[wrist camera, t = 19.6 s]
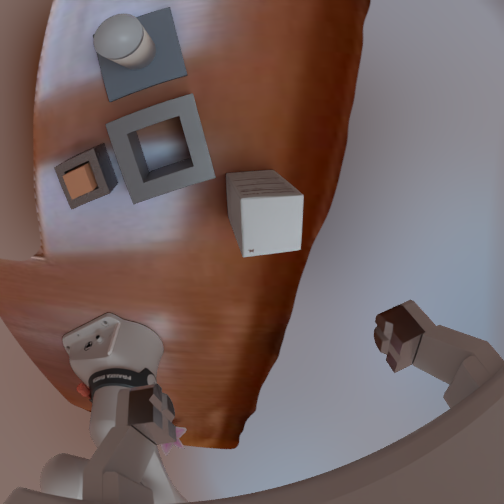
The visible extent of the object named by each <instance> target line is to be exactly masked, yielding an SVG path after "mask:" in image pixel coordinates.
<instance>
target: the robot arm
mask: <svg viewBox="0 0 504 504" xmlns="http://www.w3.org/2000/svg"><path fill="white" fill-rule="evenodd" d="M105 321H106V322H105ZM375 322H376V324H377V327H376V328H375V330H374V339H375V343H376V345H377V347H378V349H379V350H380V352H382V353H384V354H386V355H387V358H386V361H387V362H388V364H389V365H390V367H391V368H392V370H393V371H394V373H395V372H398V371H400V370H402V369H404V368H406V367H408V366H410V365H412V364H413V365H414V366H415V367H417V368H419V369H421V370H423V371H425V372H427V373H429V374H431V375H432V376H434V377H436V378H438V379H440V380H442V381H444V382H446V383H448V384H449V387H448V389H447V390H446V392H445V394H444V399H445V401H446V402H447V404H448V405H449V407H450V408H451V409H449V410H448V411H446V412H445V413H443V414H442V415H440V416H439V417H437V418H436V419H434V420H433V421H431V422H429V423H428V424H426V425H425V426H423V427H421V428H419V429H418V430H416V431H414V432H413V433H411V434H409V435H407V436H405V437H404V438H402V439H400V440H398V441H396V442H394V443H392V444H390V445H388V446H386V447H384V448H383V449H380V450H378V451H377V452H374V453H372V454H370V455H368V456H366V457H363V458H361V459H359V460H356V461H354V462H351V463H349V464H347V465H344V466H342V467H339V468H337V469H334V470H332V471H329V472H326V473H323V474H320V475H317V476H314V477H311V478H308V479H305V480H302V481H298V482H295V483H292V484H288V485H284V486H281V487H277V488H273V489H269V490H265V491H261V492H256V493H251V494H246V495H240V496H235V497H229V498H222V499H216V500H209V501H199V502H188V501H187V500H186V499H185V498H184V497H183V496H182V495H181V494H180V493H179V492H178V491H177V489H176V488H175V487H174V485H173V484H172V482H171V480H170V478H169V476H168V474H167V472H166V470H165V468H164V465H163V463H162V460H161V457H160V454H159V451H158V447H157V445H159V444H166V443H173V442H177V439H176V427H175V426H174V425H173V424H172V420H173V419H174V417H175V412H174V407H173V403H172V401H171V399H170V397H169V396H168V395H167V394H165V393H162V388H161V387H160V386H159V385H158V384H157V380H156V375H157V370H158V365H159V362H160V359H161V357H162V355H163V350H164V348H163V343H162V341H161V339H160V338H159V337H158V335H157V334H156V333H155V332H153V331H152V330H151V329H149V328H147V327H146V326H144V325H141V324H139V323H135V322H131V321H127V320H123V319H121V318H120V317H118V316H116V315H114V314H112V313H106V314H104V315H102V316H100V317H98V318H96V319H94V320H92V321H90V322H88V323H86V324H84V325H83V326H81V327H79V328H77V329H75V330H73V331H71V332H69V333H67V334H65V335H64V336H63V339H62V340H63V345H64V348H65V350H66V352H67V353H68V355H69V362H70V365H71V367H72V369H73V371H74V372H75V374H76V375H77V376H78V377H79V378H80V379H81V380H82V381H83V382H84V383H85V384H86V385H87V386H88V387H89V388H90V389H89V388H87V387H86V385H85V384H84V383H80V384H79V385H78V386H77V391H78V392H79V393H80V394H82V396H83V397H88V398H89V399H90V401H91V402H92V411H91V418H90V427H89V429H90V435H91V438H92V440H93V442H94V444H95V445H96V446H97V450H96V451H95V453H94V454H93V456H92V458H91V459H90V460H89V459H86V458H82V457H78V456H73V455H70V454H65V453H62V454H58V455H56V456H54V457H53V458H51V459H50V460H49V461H48V462H47V463H46V464H45V466H44V467H43V469H42V472H41V476H40V487H41V492H38V491H34V490H30V489H27V488H22V487H19V488H16V489H15V490H14V491H13V492H12V493H11V494H10V495H9V497H8V498H7V499H6V501H5V502H4V503H3V504H504V361H503V359H502V358H501V357H500V356H499V354H498V353H497V352H496V351H495V350H494V348H493V347H492V346H491V345H490V344H489V343H488V342H487V341H484V340H481V339H478V338H475V337H473V336H470V335H467V334H464V333H461V332H458V331H455V330H452V329H450V328H447V327H444V326H441V325H438V326H436V325H435V324H434V323H433V322H432V321H431V320H430V319H429V317H428V316H427V315H426V314H425V313H424V312H423V311H422V310H421V309H420V307H418V305H417V304H416V303H415V302H414V301H412V300H409V301H407V302H404V303H403V304H400V305H398V306H395V307H393V308H391V309H389V310H387V311H384V312H382V313H380V314H378V315H377V316H376V320H375ZM90 392H91V393H90Z"/></svg>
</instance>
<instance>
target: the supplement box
mask: <svg viewBox="0 0 504 504" xmlns="http://www.w3.org/2000/svg"><path fill="white" fill-rule="evenodd" d="M226 191H227V207H228V218H229V220H230V223H231V226H232V229H233V231H234V234H235V237H236V240H237V242H238V245H239V248H240V251H241V253H242V256H243V257H249V256H257V255H265V254H273V253H281V252H289V251H296V250H300V249H301V236H302V219H303V197H304V196H303V194H301V193H300V192H299V191H298V190H297V189H296V188H295V187H293V186H292V185H291V184H290V183H289V182H287V181H286V180H285V179H284V178H283V177H282V176H280V175H279V174H278V173H277V172H275V171H274V170H262V171H247V172H235V173H226Z"/></svg>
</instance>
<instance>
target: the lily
mask: <svg viewBox="0 0 504 504" xmlns="http://www.w3.org/2000/svg"><path fill="white" fill-rule="evenodd" d="M175 427H176V426H175ZM186 430H187V429H186V428H182V427H176V439H177V442H173V443H166V444H161V447H162V450H163V452H164V454H165V455H168V453H169V451H170V450H171V448H172V446H173V445H174V446H176V447H178V448H181V449H184V446H183V445H182V443H181V441H180V440H179V439H178V438H180V437H181V436H182V435H183V434H184V433H185V432H186Z"/></svg>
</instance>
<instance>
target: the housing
mask: <svg viewBox="0 0 504 504" xmlns="http://www.w3.org/2000/svg"><path fill="white" fill-rule="evenodd" d="M177 116H179V117H180V120H181V124H182V127H183V131H184V134H185V138H186V141H187V145H188V148H189V152H190V155H191V158H190V159H187V160H183V161H180V162H177V163H174V164H171V165H168V166H165V167H162V168H159V169H156V170H153V171H151V172H149V169H148V166H147V163H146V160H145V157H144V154H143V151H142V148H141V145H140V142H139V139H138V135H137V132H136V130H139V129H141V128H144V127H147V126H150V125H153V124H156V123H158V122H161V121H164V120H167V119H170V118H174V117H177ZM105 125H106V128H107V131H108V134H109V137H110V140H111V143H112V146H113V149H114V152H115V155H116V158H117V161H118V164H119V167H120V170H121V172H122V175H123V178H124V181H125V183H126V186H127V189H128V191H129V194H130V197H131V199H132V202H133V204H136V203H139V202H142V201H145V200H148V199H150V198H153V197H156V196H159V195H162V194H165V193H168V192H171V191H174V190H177V189H180V188H184V187H187V186H190V185H193V184H196V183H200V182H203V181H206V180H210V179H213V178H216V176H215V173H214V169H213V166H212V162H211V158H210V155H209V151H208V148H207V144H206V140H205V137H204V133H203V129H202V126H201V122H200V118H199V115H198V111H197V107H196V103H195V100H194V96H193V93H192V94H189V95H185V96H182V97H179V98H175V99H172V100H169V101H166V102H163V103H160V104H157V105H154V106H151V107H148V108H145V109H143V110H140V111H137V112H135V113H132V114H129V115H127V116H124V117H122V118H119V119H117V120H114V121H112V122H110V123H107V124H105Z"/></svg>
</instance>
